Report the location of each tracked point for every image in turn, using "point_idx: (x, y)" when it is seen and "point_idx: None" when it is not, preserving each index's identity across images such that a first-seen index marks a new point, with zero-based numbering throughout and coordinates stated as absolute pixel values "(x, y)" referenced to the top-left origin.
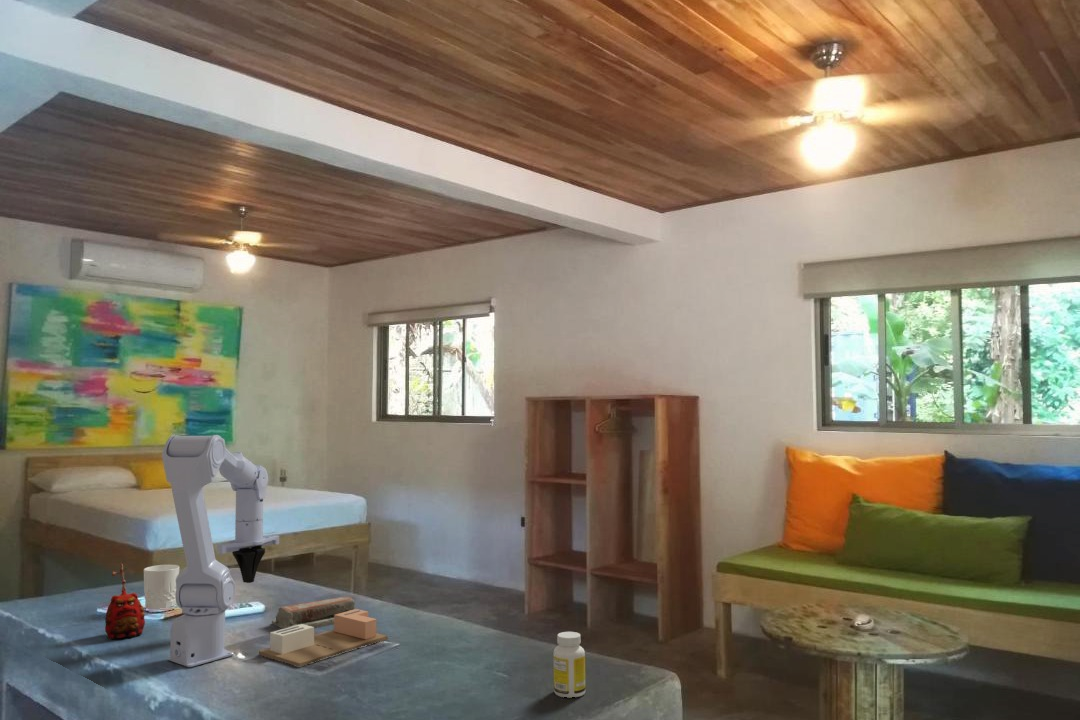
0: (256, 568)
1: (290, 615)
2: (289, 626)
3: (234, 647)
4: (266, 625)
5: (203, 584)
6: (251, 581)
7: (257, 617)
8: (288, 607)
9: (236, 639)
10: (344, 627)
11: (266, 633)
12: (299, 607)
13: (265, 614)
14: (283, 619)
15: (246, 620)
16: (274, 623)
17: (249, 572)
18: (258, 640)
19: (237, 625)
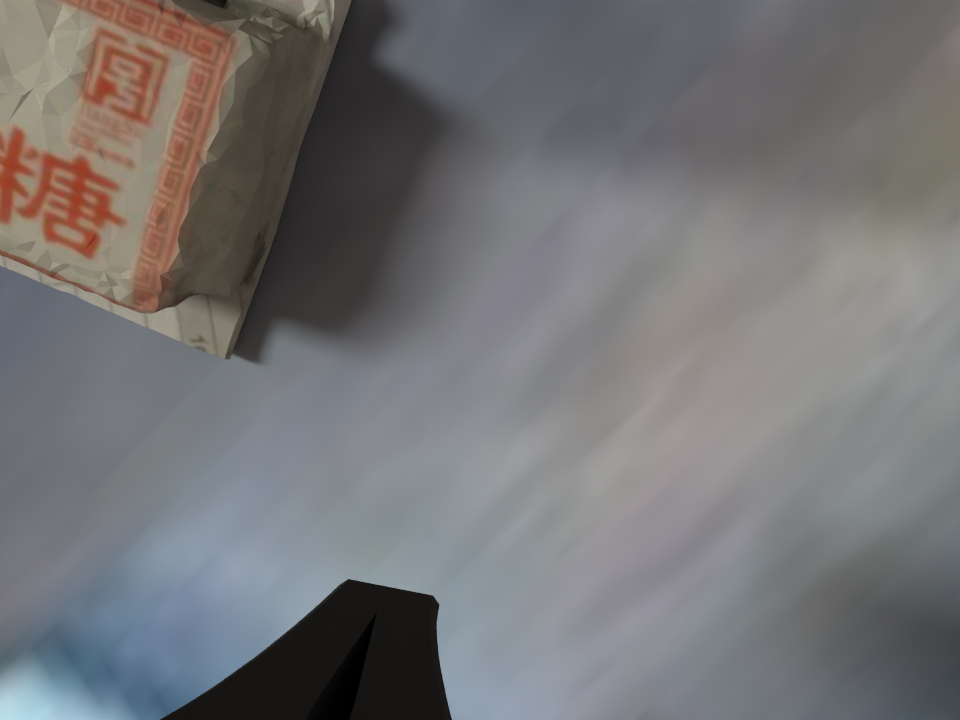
0: (253, 677)
1: (254, 29)
2: (315, 21)
3: (937, 113)
4: (291, 359)
5: None
6: (385, 591)
7: (163, 589)
8: (132, 179)
9: (724, 286)
10: None
11: (473, 176)
12: (74, 48)
13: (71, 592)
14: (270, 143)
15: (266, 606)
16: (249, 304)
17: (424, 679)
18: (676, 74)
19: (402, 571)
